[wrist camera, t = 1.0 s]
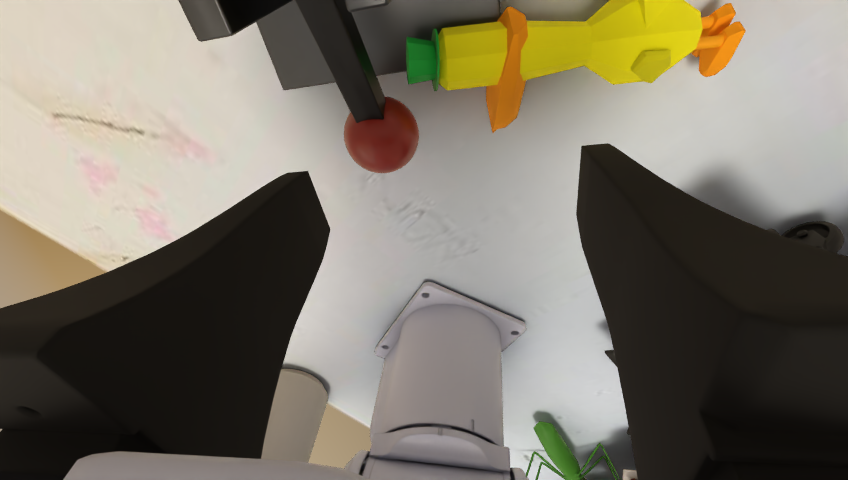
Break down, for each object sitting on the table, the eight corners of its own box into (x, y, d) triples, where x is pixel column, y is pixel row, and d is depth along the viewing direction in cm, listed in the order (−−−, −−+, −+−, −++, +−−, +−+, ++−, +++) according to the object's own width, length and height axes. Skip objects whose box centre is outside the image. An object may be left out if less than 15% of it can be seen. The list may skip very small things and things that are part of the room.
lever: (427, 128, 18) (424, 184, 17) (363, 137, 19) (355, 190, 18) (323, -218, 9) (298, -159, 8) (204, -180, 10) (161, -119, 8)
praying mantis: (651, 533, 38) (640, 483, 42) (598, 430, 32) (591, 383, 36) (550, 536, 42) (549, 490, 46) (487, 444, 36) (491, 401, 40)
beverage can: (339, 402, 40) (295, 555, 31) (278, 401, 41) (219, 548, 32) (316, 363, 36) (258, 526, 27) (249, 363, 37) (172, 519, 28)
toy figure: (689, 136, 18) (417, 166, 19) (663, 75, 20) (411, 103, 20) (808, -9, 12) (400, 38, 12) (758, -82, 14) (393, -38, 14)
